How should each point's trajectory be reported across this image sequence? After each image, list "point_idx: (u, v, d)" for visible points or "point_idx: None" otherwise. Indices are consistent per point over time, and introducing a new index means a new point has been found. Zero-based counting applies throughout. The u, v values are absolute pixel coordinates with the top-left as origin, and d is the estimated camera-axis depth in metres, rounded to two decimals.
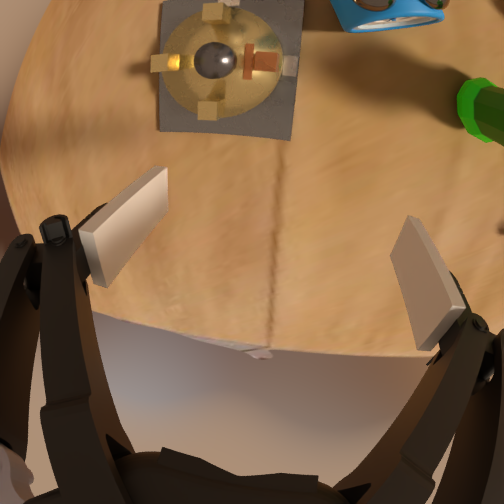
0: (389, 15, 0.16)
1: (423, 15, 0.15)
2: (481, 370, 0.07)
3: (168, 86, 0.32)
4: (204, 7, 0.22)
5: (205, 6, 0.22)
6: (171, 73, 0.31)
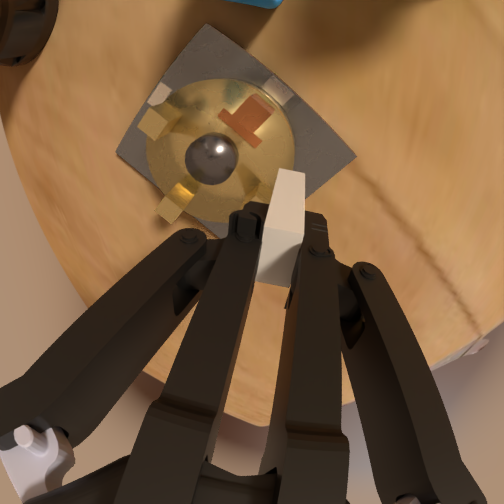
0: None
1: None
2: None
3: (202, 216, 0.32)
4: (142, 128, 0.23)
5: (141, 126, 0.23)
6: (191, 204, 0.31)
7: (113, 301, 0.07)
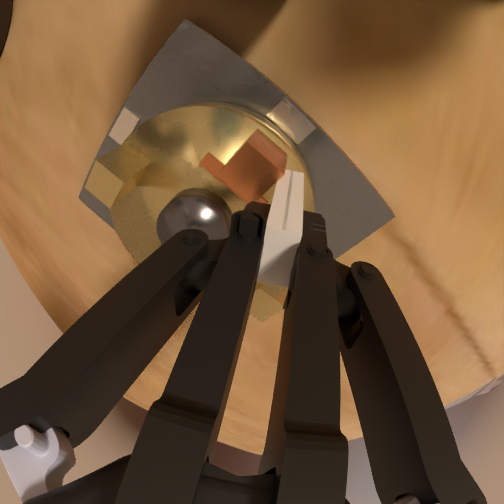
0: None
1: None
2: None
3: None
4: (91, 190, 0.15)
5: (89, 187, 0.15)
6: None
7: (114, 301, 0.07)
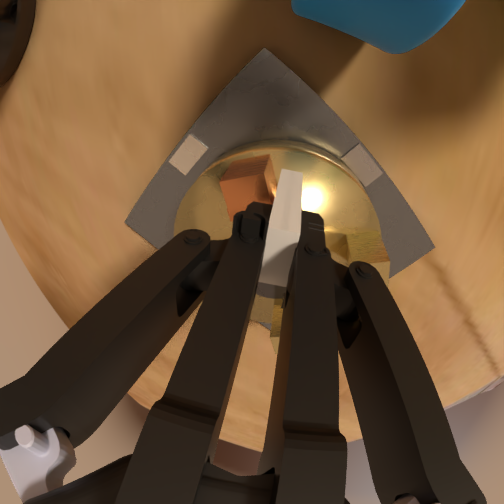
0: None
1: None
2: None
3: None
4: None
5: None
6: None
7: (116, 302, 0.07)
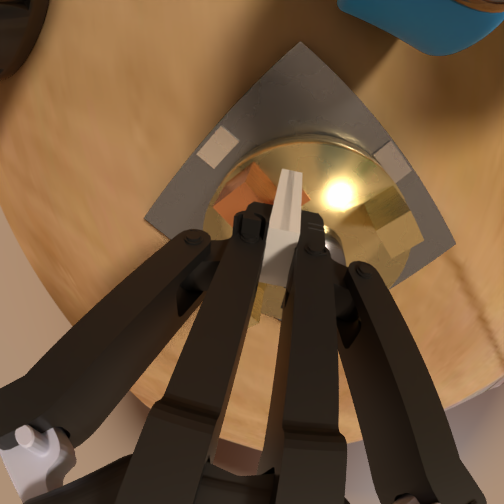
0: None
1: None
2: (334, 307, 0.10)
3: (387, 286, 0.21)
4: None
5: None
6: None
7: (116, 302, 0.07)
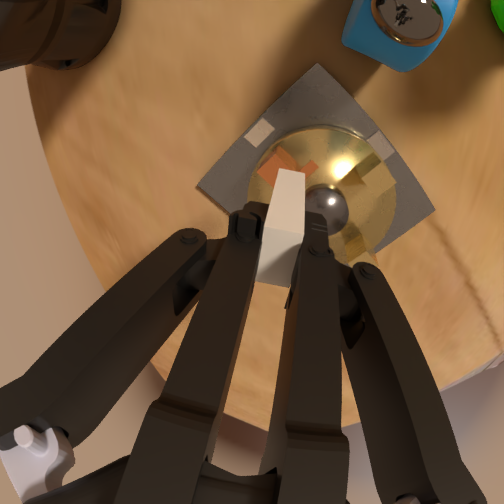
0: (445, 29, 0.10)
1: None
2: (338, 308, 0.10)
3: (384, 230, 0.28)
4: None
5: None
6: (370, 237, 0.29)
7: (113, 301, 0.07)
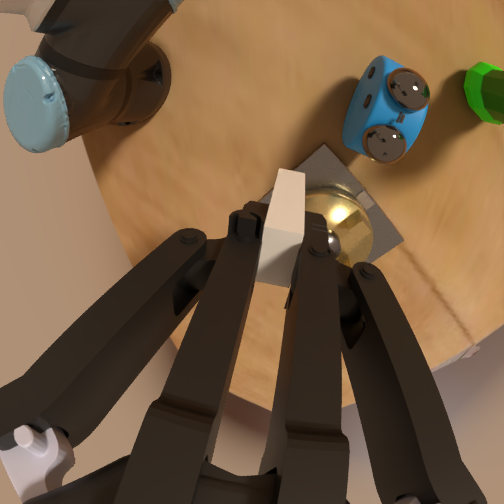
0: (408, 148, 0.25)
1: (424, 119, 0.22)
2: (338, 308, 0.10)
3: (365, 257, 0.44)
4: None
5: None
6: (355, 261, 0.44)
7: (113, 301, 0.07)
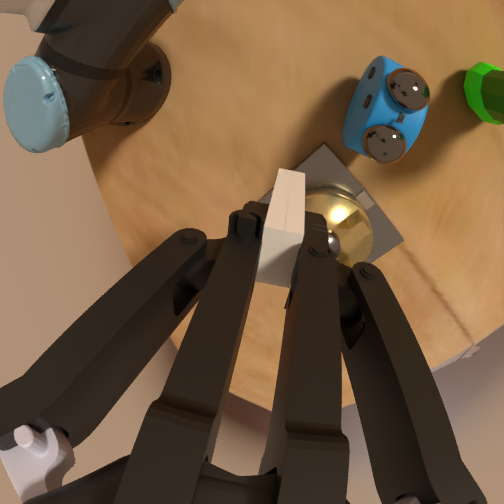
0: (408, 148, 0.25)
1: (424, 119, 0.22)
2: None
3: (365, 257, 0.44)
4: None
5: None
6: (355, 261, 0.44)
7: (113, 301, 0.07)
